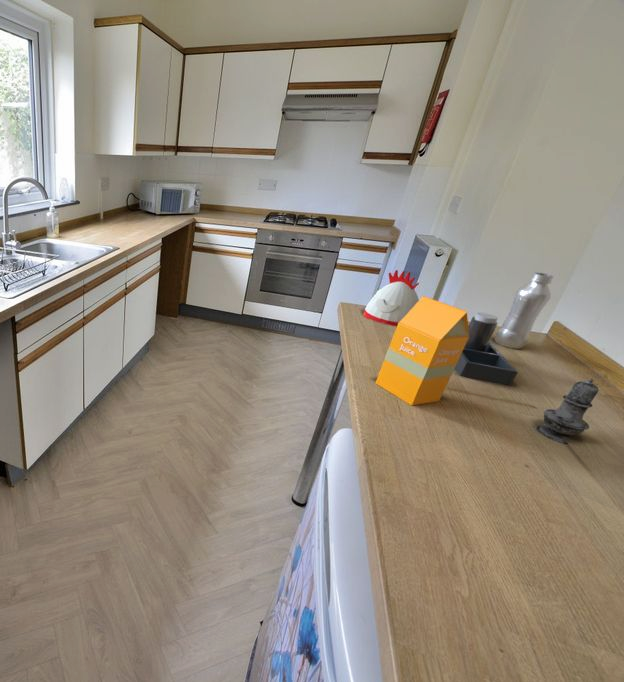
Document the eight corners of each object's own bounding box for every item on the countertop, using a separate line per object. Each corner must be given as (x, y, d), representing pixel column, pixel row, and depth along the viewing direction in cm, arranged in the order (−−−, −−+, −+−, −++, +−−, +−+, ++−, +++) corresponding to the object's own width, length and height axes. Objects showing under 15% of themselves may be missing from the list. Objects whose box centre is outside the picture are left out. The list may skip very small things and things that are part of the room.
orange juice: (411, 405, 82) (451, 312, 73) (374, 383, 89) (407, 296, 81) (440, 401, 84) (482, 310, 75) (401, 379, 91) (436, 294, 83)
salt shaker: (576, 449, 71) (616, 391, 66) (531, 432, 75) (566, 376, 70) (580, 436, 75) (618, 380, 70) (536, 421, 79) (570, 366, 74)
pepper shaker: (475, 355, 103) (496, 314, 98) (482, 363, 99) (503, 321, 94) (453, 351, 105) (471, 310, 100) (458, 358, 101) (478, 317, 96)
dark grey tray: (482, 356, 104) (489, 341, 103) (509, 388, 90) (518, 372, 88) (440, 348, 108) (446, 334, 106) (459, 377, 93) (466, 362, 91)
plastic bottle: (500, 349, 108) (537, 276, 100) (486, 339, 114) (520, 269, 106) (528, 353, 107) (569, 279, 98) (512, 342, 113) (549, 272, 104)
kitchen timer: (376, 308, 134) (392, 263, 127) (423, 322, 124) (443, 274, 117) (355, 315, 127) (370, 268, 120) (403, 331, 117) (423, 281, 110)
